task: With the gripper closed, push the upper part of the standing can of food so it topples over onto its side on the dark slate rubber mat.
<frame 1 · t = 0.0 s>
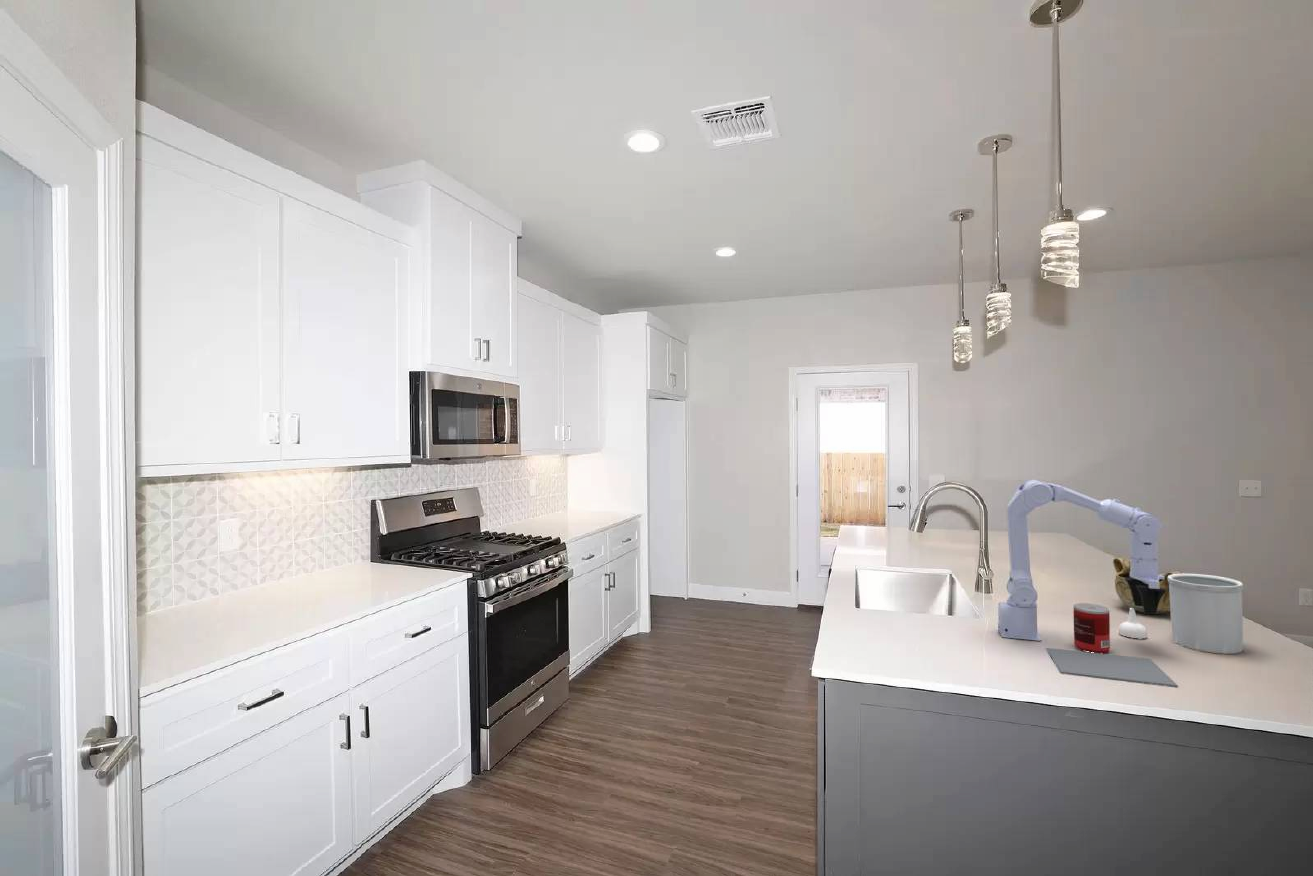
hand: (1144, 609, 157), 10 cm above the countertop, tool pointing down, fingers open, 7 cm apart
ceramic bowl: (1148, 612, 188), on the countertop
canned food: (1091, 649, 157), on the countertop
garlic bulb: (1132, 637, 166), on the countertop
slate mat: (1106, 666, 145), on the countertop
utensil holder: (1205, 645, 158), on the countertop
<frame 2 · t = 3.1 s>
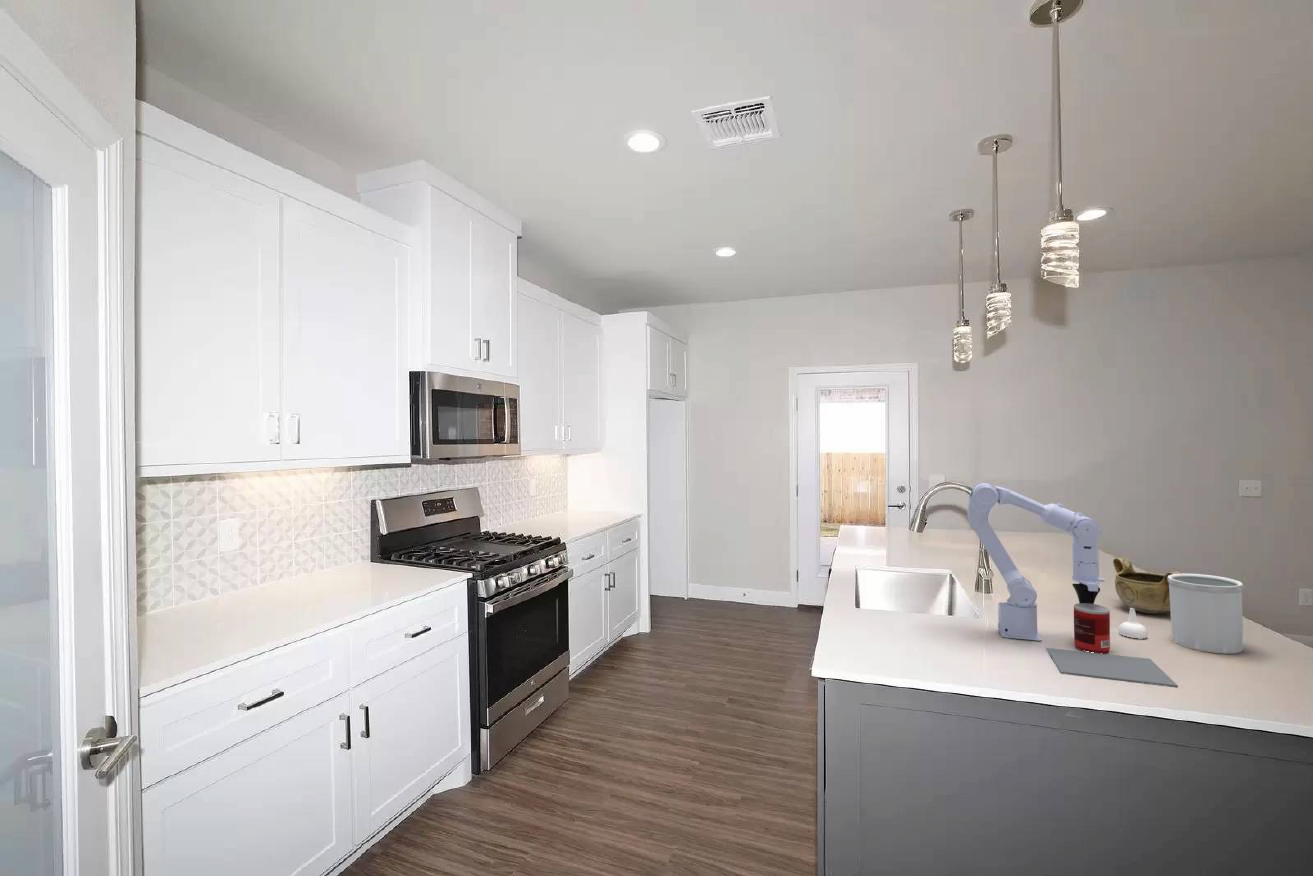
hand: (1086, 611, 161), 8 cm above the countertop, tool pointing down, fingers closed, pressing on canned food
canned food: (1091, 649, 157), on the countertop, touching gripper
everything else where it was.
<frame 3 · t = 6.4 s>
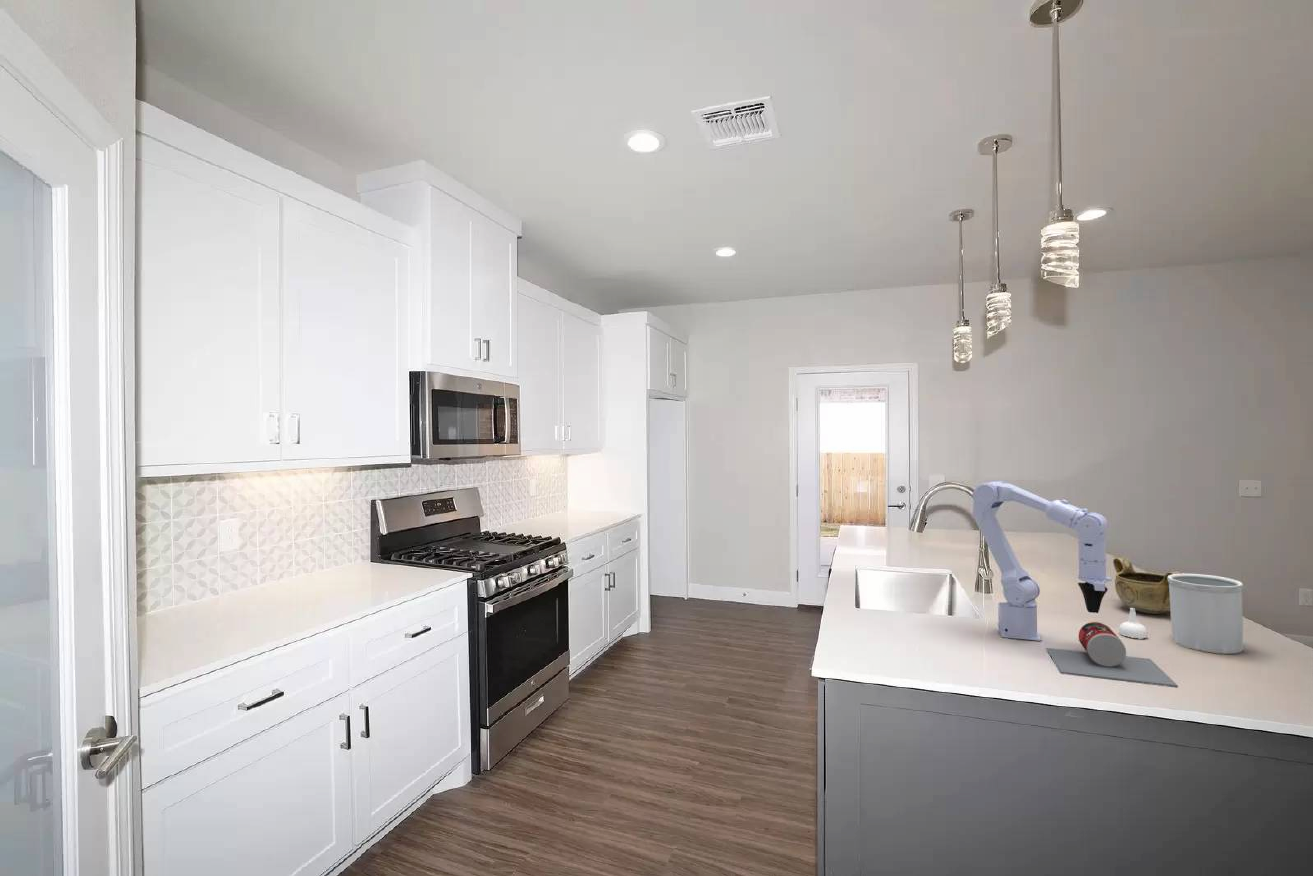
hand: (1092, 612, 155), 10 cm above the countertop, tool pointing down, fingers closed
canned food: (1095, 636, 154), point 4 cm above the countertop, touching slate mat
everything else where it was.
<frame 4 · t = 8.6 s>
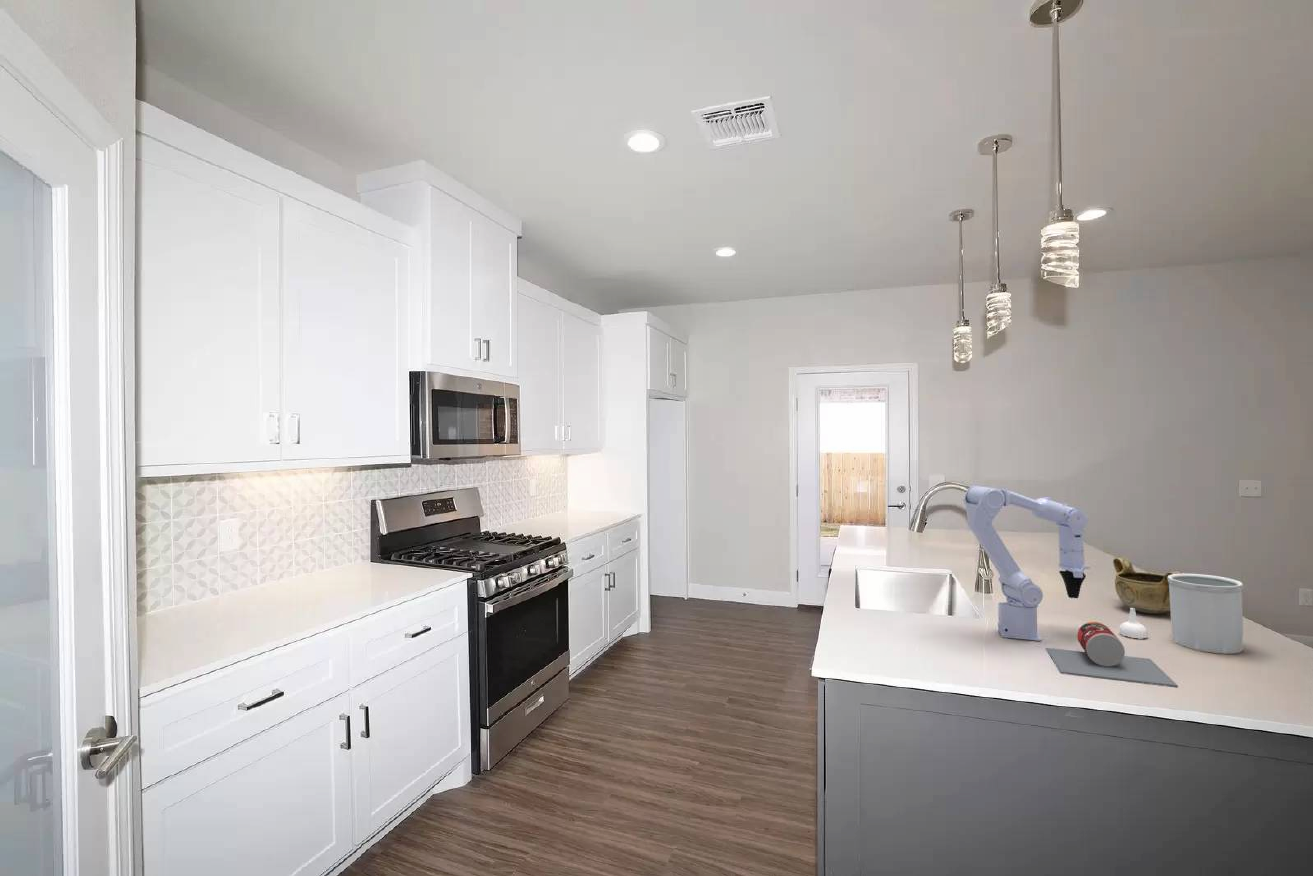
hand: (1073, 597, 168), 10 cm above the countertop, tool pointing down, fingers closed
nothing on the countertop moved.
at the end: canned food tilted 90°; canned food touching slate mat; canned food inside the target area (4.7 cm from its centre), point 4.4 cm above the countertop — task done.
